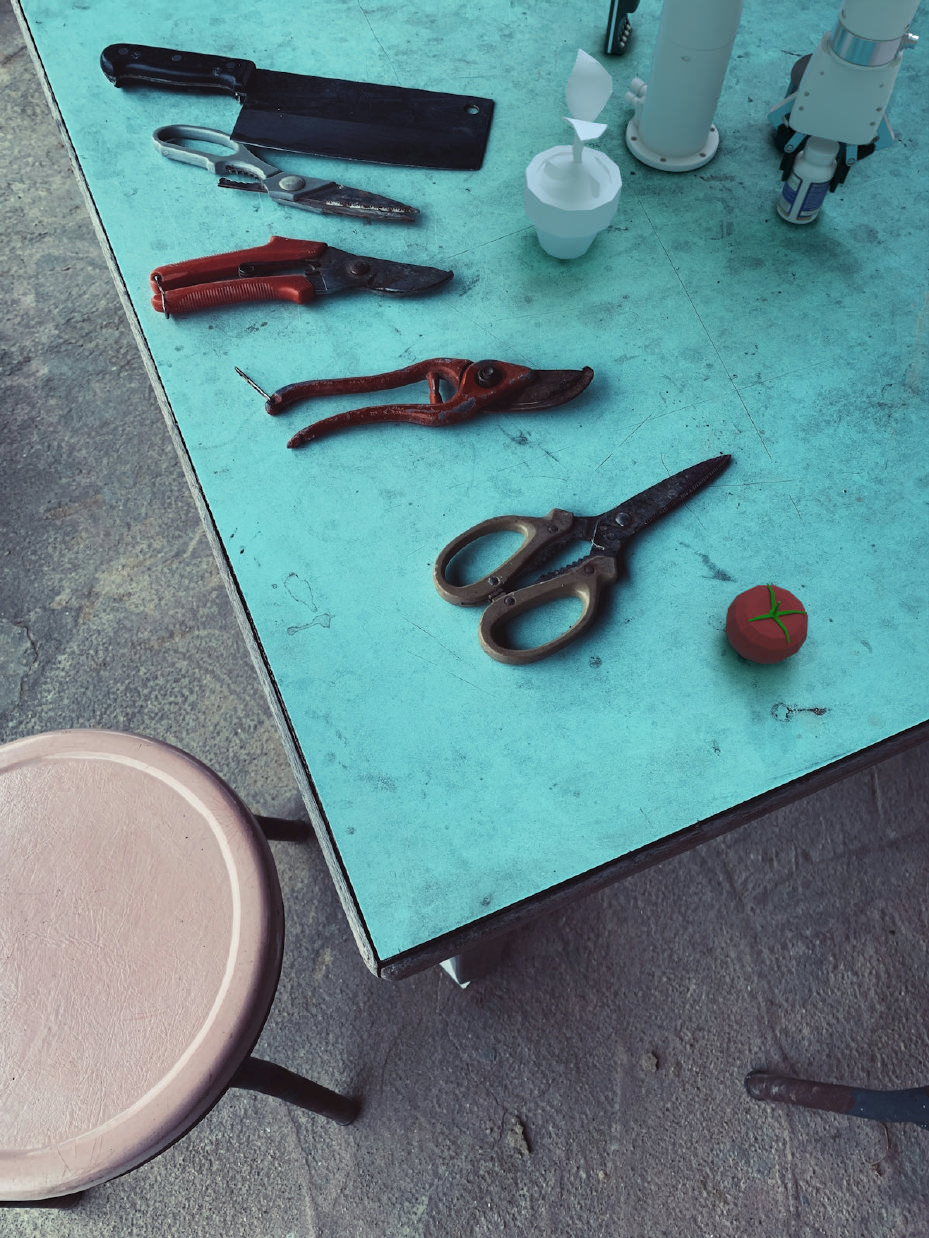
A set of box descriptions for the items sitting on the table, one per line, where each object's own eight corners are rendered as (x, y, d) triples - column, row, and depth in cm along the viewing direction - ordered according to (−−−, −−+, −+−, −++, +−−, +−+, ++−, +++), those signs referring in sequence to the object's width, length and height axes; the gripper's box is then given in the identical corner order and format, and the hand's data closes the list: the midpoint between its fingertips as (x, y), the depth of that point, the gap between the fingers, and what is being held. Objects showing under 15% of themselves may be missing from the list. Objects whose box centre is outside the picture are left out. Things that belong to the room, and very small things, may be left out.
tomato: (788, 604, 96) (814, 568, 89) (801, 673, 92) (829, 641, 86) (711, 605, 96) (731, 569, 89) (722, 674, 92) (744, 643, 85)
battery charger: (627, 59, 135) (642, -24, 125) (602, 54, 135) (614, -29, 125) (637, 31, 138) (653, -52, 128) (613, 26, 138) (626, -57, 128)
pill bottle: (821, 204, 122) (850, 137, 113) (810, 230, 120) (839, 164, 111) (782, 192, 123) (807, 125, 114) (770, 217, 121) (795, 151, 112)
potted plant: (527, 205, 121) (544, 8, 99) (615, 218, 120) (652, 23, 98) (509, 274, 116) (523, 82, 93) (601, 289, 115) (638, 99, 92)
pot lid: (771, 82, 121) (782, 47, 117) (824, 49, 124) (837, 14, 120) (836, 124, 117) (850, 90, 113) (889, 89, 120) (905, 54, 116)
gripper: (949, 33, 102) (880, 176, 118) (794, 1, 104) (747, 146, 120) (943, 74, 98) (873, 215, 115) (783, 41, 101) (736, 184, 117)
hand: (809, 179), depth 117 cm, fingers closed on pill bottle, 5 cm apart
